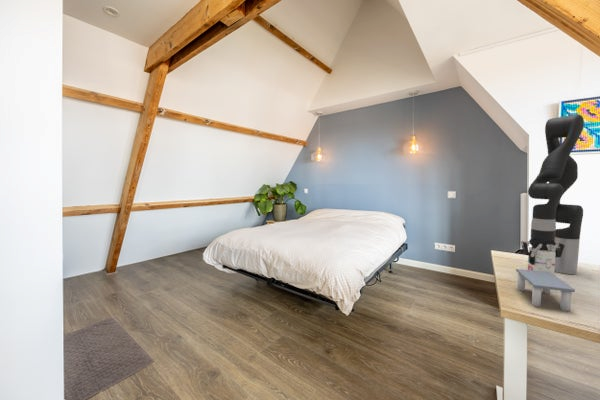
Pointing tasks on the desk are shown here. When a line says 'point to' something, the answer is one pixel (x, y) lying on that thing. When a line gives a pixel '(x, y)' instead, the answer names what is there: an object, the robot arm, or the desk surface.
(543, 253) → the ink cartridge box
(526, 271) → the grey toy table
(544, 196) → the robot arm
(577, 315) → the desk surface
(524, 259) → the desk surface
